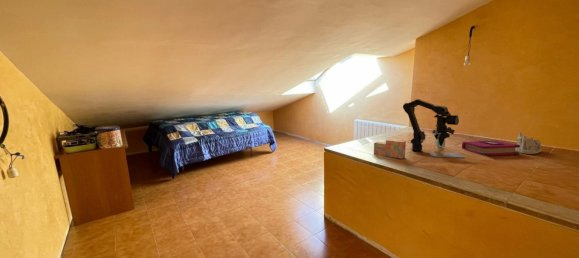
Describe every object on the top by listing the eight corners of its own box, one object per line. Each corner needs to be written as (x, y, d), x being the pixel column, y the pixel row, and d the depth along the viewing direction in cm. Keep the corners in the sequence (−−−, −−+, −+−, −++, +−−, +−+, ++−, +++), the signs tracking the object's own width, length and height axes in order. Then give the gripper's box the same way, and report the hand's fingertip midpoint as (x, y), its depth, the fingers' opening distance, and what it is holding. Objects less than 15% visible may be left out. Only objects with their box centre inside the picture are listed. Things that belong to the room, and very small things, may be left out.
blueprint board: (432, 157, 175) (432, 155, 175) (427, 153, 187) (428, 152, 187) (464, 158, 170) (464, 157, 170) (457, 154, 181) (457, 153, 181)
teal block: (437, 147, 177) (437, 140, 176) (435, 145, 181) (435, 139, 181) (445, 147, 175) (445, 140, 175) (442, 145, 180) (443, 139, 179)
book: (461, 149, 196) (462, 140, 195) (494, 148, 198) (495, 139, 197) (483, 156, 176) (484, 145, 175) (520, 154, 177) (521, 144, 176)
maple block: (436, 154, 178) (437, 148, 177) (434, 153, 182) (434, 146, 182) (444, 155, 176) (444, 148, 175) (442, 153, 181) (442, 147, 180)
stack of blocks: (373, 154, 188) (373, 138, 186) (376, 152, 192) (377, 137, 191) (402, 158, 173) (403, 141, 172) (405, 157, 178) (406, 140, 176)
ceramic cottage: (521, 153, 179) (523, 133, 177) (511, 148, 194) (513, 130, 192) (549, 155, 173) (551, 134, 171) (536, 150, 188) (539, 130, 186)
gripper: (459, 125, 165) (457, 148, 167) (449, 122, 183) (447, 142, 185) (440, 125, 168) (439, 147, 170) (432, 122, 186) (431, 142, 188)
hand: (439, 144), depth 178 cm, fingers closed on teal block, 5 cm apart
